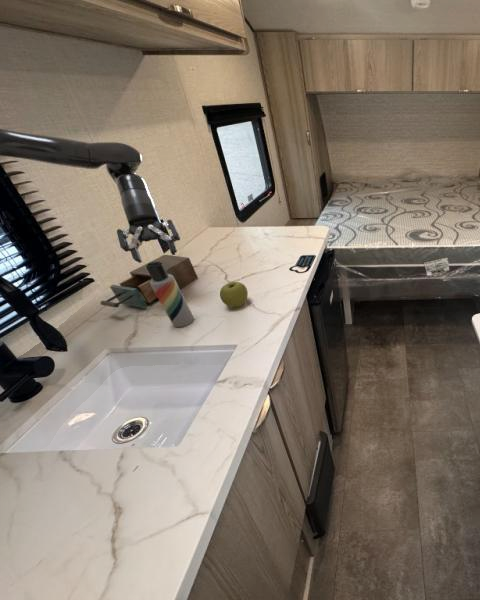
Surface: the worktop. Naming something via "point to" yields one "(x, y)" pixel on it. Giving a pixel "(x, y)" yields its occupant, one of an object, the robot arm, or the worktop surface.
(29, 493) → the worktop surface
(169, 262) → the cabinet
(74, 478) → the worktop surface
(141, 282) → the drawer
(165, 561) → the worktop surface
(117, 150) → the robot arm
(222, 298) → the apple
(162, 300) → the lotion bottle
